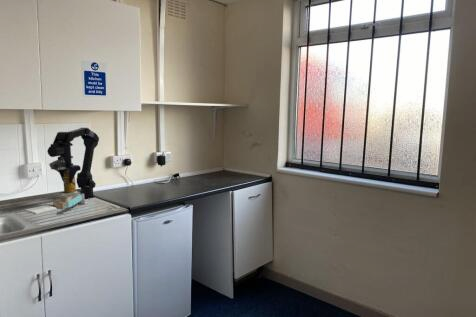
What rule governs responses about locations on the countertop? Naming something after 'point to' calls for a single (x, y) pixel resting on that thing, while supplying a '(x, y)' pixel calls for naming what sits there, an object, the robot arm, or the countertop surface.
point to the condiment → (68, 185)
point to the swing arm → (73, 201)
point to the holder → (63, 201)
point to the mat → (40, 209)
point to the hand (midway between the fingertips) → (67, 182)
